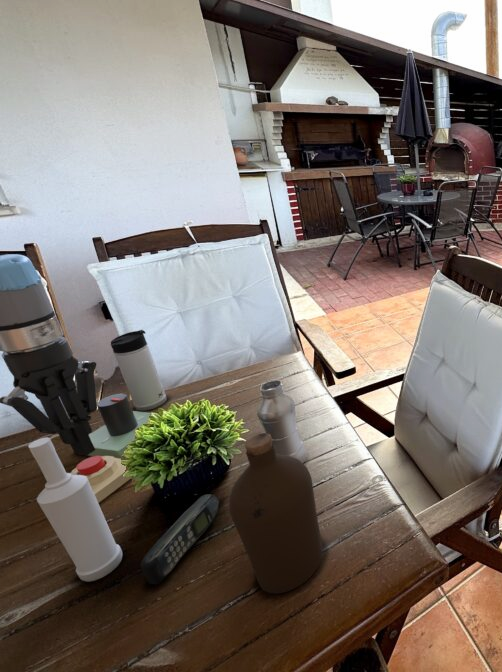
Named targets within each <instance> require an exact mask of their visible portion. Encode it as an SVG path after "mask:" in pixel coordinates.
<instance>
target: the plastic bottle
mask: <svg viewBox="0 0 502 672" xmlns="http://www.w3.org/2000/svg"><path fill="white" fill-rule="evenodd" d="M259 390H260V398H262V399H261V401H260V402H259V405H258V406H257V411H256V415H257V418H258V420H259V422H260V424H261V426H262V428H263V429H264V433H268V434H270V435H271V438H272V441H273V442H274V447H275V451H276V454H280V455H286V456H291V457H294V458H296V459H298V460H300V461H301V462H302V463H303V464H304V463H305V461H306V459H307V447H306V445H305V443H304V441H303V439H302V437H301V435H300V432H299V429H298V428H299V427H298V422H297V415H296V403H295V400H294V398H292V397H291V396H290V395H289V394H287V393H286V392H285V387H284V386H283V382H282V380H279V379H272V380H269V381H267V382H264V383H263V384H262V385H260V387H259Z"/></svg>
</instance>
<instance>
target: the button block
mask: <svg viewBox="0 0 502 672" xmlns="http://www.w3.org/2000/svg"><path fill="white" fill-rule="evenodd" d="M102 458H103V460H104V462H105V466H104V467H103V468H102V469H101V470H99V471H98V472H95V473H93V474H91V475H87V476H86V477H87V478H88V481H89V483H90V485H91V488H92V490H93V492H94V494H95V497H96V499H97V501H98V504H99V503H100V502H102V501H104V500H105V499H106V498H108V497H109V496H110V495H112V493H114V492H116V491H117V490H118V489H119V488H121V487H122V486H123V485H124V484H126V483H127V482H128V481H130V480H131V479H132V478H133V477H123V473H124V472H125V470H126V466H124V465H122V464H121V459H120V458H114V457H113V456H102ZM70 473H71V475H80V474H79V472H78V470H77V468H76V467H75V468H73V469H72V470H71V472H70Z"/></svg>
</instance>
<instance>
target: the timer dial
mask: <svg viewBox="0 0 502 672" xmlns="http://www.w3.org/2000/svg"><path fill="white" fill-rule="evenodd" d="M96 403H97V409H98V411H99V413H100V415H101V418H102V421H103V423H104V425H106V427H107V430H108V432H109V434H110V435H111V436H120V435H123V434H126V433H128V432H130V431H132V430H134V429H135V428H136V427H137V425H138V423H137V421H136V418H135V416H134V413H133V411H134V410H133V408H132V406H131V403H130V400H129V399H128V395H127V394H126V393H115V394H111V395H108V396H106V397H104V398H101V399H100V400H99V401H98V402H96Z"/></svg>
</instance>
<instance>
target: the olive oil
mask: <svg viewBox="0 0 502 672" xmlns="http://www.w3.org/2000/svg"><path fill="white" fill-rule="evenodd" d="M244 448H245V450H246V451H245V455H246V457H247V460H248V464H249V465H248V466H247V467H246V468H245V470H244V471H243V472H241V474H240V475H239V477H238V478H237V479H236V480H235V482H234V484H233V486H232V489H231V491H230V496H229V503H228V504H229V505H228V507H229V514H230V517H231V520H232V522H233V524H234V526H235V528H236V531H237V533H238V535H239V538H240V540H241V543H242V545H243V547H244V550H245V552H246V554H247V557H248V560H249V562H250V564H251V567H252V570H253V572H254V575H255V577H256V580H257V583H258V585H259V587H260V588H261V589H262V590H263V591H264V592H266V593H269V594H274V595H276V594H277V595H279V594H284V593H288V592H290V591H293V590H295V589H297V588H298V587H300V586H302V585H303V584H305V583H306V582H307V581H308V580H310V578H311V577H312V576H313V575H314V574H315V573H316V571H317V569H318V568H319V566H320V564H321V562H322V560H323V556H324V547H323V542H322V536H321V531H320V530H321V529H320V526H319V519H318V513H317V505H316V500H315V493H314V484H313V480H312V475H311V472H310V471H309V469H308V467H306V465H305V464H304V463H302V462H301V461H300V460H298V459H296V458H294V457H291V456H286V455H280V454H276V451H275V447H274V442H273V441H272V438H271V435H270V434H268V433H266V432H261V433H258V434H255V435H253V436H251V437H250V438H248V439H247V440H246V442H245V443H244Z"/></svg>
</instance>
